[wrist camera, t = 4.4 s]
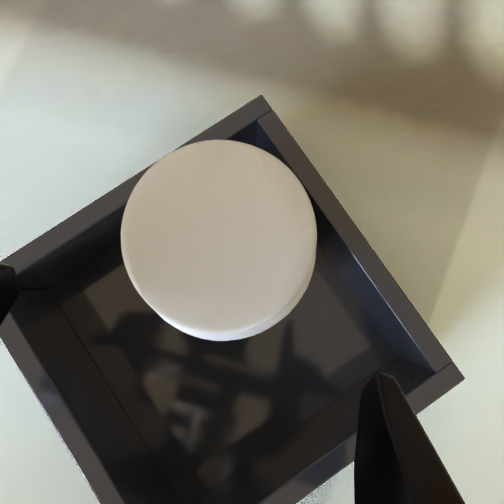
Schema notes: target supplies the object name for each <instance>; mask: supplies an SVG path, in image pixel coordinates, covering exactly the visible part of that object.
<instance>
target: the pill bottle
mask: <svg viewBox="0 0 504 504" xmlns="http://www.w3.org/2000/svg"><path fill="white" fill-rule="evenodd" d="M316 244H317V228H316V220H315V215H314V211H313V208H312V205H311V202H310V199H309V197H308V195H307V193H306V191H305V189H304V188H303V186H302V184H301V183H300V181H299V180H298V178H297V177H296V176H295V175H294V173H293V172H292V171H291V170H290V169H289V168H288V167H287V166H286V165H285V164H284V163H282V162H281V161H280V160H279V159H277V158H276V157H274V156H273V155H271V154H270V153H268V152H266V151H264V150H262V149H260V148H257V147H255V146H252V145H249V144H246V143H242V142H237V141H231V140H207V141H200V142H196V143H192V144H189V145H186V146H183V147H181V148H179V149H177V150H175V151H173V152H171V153H169V154H167V155H166V156H164V157H163V158H161V159H160V160H158V161H157V162H156V163H155V164H153V165H152V166H151V167H150V168H149V169H148V170H147V172H146V173H145V174H144V175H143V176H142V177H141V179H140V180H139V181H138V183H137V184H136V186H135V188H134V189H133V191H132V193H131V195H130V197H129V200H128V202H127V205H126V208H125V211H124V215H123V219H122V225H121V250H122V256H123V260H124V264H125V267H126V270H127V273H128V275H129V277H130V279H131V281H132V283H133V285H134V287H135V289H136V290H137V292H138V293H139V294H140V296H141V297H142V298H143V299H144V300H145V302H146V303H147V304H148V305H149V306H150V307H151V308H152V309H153V310H155V311H156V312H157V313H158V315H159V316H160V317H161V318H162V319H163V320H165V321H166V322H167V323H169V324H171V325H172V326H174V327H175V328H177V329H179V330H180V331H182V332H184V333H187V334H189V335H192V336H195V337H198V338H202V339H206V340H213V341H228V340H237V339H243V338H247V337H250V336H254V335H256V334H259V333H261V332H263V331H265V330H267V329H269V328H270V327H272V326H273V325H275V324H276V323H278V322H279V321H280V320H282V319H283V318H284V317H286V316H287V315H288V314H289V313H290V312H291V311H292V309H293V308H294V307H295V306H296V305H297V303H298V302H299V300H300V299H301V298H302V296H303V294H304V293H305V291H306V289H307V287H308V285H309V282H310V280H311V276H312V273H313V269H314V264H315V257H316Z"/></svg>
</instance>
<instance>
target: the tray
mask: <svg viewBox="0 0 504 504" xmlns="http://www.w3.org/2000/svg"><path fill="white" fill-rule="evenodd" d="M207 140H231V141H237V142H242V143H246V144H249V145H252V146H255V147H257V148H260V149H262V150H264V151H266V152H268V153H270V154H271V155H273V156H274V157H276V158H277V159H279V160H280V161H281V162H282V163H284V164H285V165H286V166H287V167H288V168H289V169H290V170H291V171H292V172H293V173H294V175H295V176H296V177H297V178H298V180H299V181H300V183H301V184H302V186H303V188H304V189H305V191H306V193H307V195H308V197H309V199H310V202H311V205H312V208H313V211H314V215H315V220H316V228H317V244H316V257H315V264H314V269H313V273H312V276H311V280H310V282H309V285H308V287H307V289H306V291H305V293H304V294H303V296H302V298H301V299H300V300H299V302H298V303H297V305H296V306H295V307H294V308H293V309H292V311H291V312H290V313H289V314H288V315H287V316H286V317H284V318H283V319H282V320H280V321H279V322H278V323H276V324H275V325H273V326H272V327H270V328H269V329H267V330H265V331H263V332H261V333H259V334H256V335H254V336H250V337H247V338H243V339H237V340H228V341H213V340H206V339H202V338H198V337H195V336H192V335H189V334H187V333H184V332H182V331H180V330H179V329H177V328H175V327H174V326H172V325H171V324H169V323H167V322H166V321H165V320H163V319H162V318H161V317H160V316H159V315H158V313H157V312H156V311H155V310H153V309H152V308H151V307H150V306H149V305H148V304H147V303H146V302H145V300H144V299H143V298H142V297H141V296H140V294H139V293H138V292H137V290H136V289H135V287H134V285H133V283H132V281H131V279H130V277H129V275H128V273H127V270H126V267H125V264H124V260H123V256H122V250H121V225H122V219H123V215H124V211H125V208H126V205H127V202H128V200H129V197H130V195H131V193H132V191H133V189H134V188H135V186H136V184H137V183H138V181H139V180H140V179H141V177H142V176H143V175H144V174H145V173H146V172H147V170H148V169H149V168H150V167H151V166H152V165H153V164H152V165H150V166H149V167H147V168H146V169H144V170H143V171H141V172H139V173H138V174H136V175H135V176H133V177H132V178H130V179H129V180H127V181H125V182H124V183H122V184H121V185H119V186H118V187H116V188H114V189H113V190H111V191H110V192H108V193H107V194H105V195H104V196H102V197H100V198H99V199H97V200H96V201H94V202H93V203H91V204H89V205H88V206H86V207H85V208H83V209H82V210H80V211H78V212H77V213H75V214H74V215H72V216H71V217H69V218H68V219H66V220H64V221H63V222H61V223H60V224H58V225H57V226H55V227H53V228H52V229H50V230H49V231H47V232H46V233H44V234H43V235H41V236H39V237H38V238H36V239H35V240H33V241H32V242H30V243H28V244H27V245H25V246H24V247H22V248H21V249H19V250H17V251H16V252H14V253H13V254H11V255H10V256H8V257H7V258H5V259H3V260H2V261H0V262H1V263H4V264H8V265H11V266H12V267H13V268H14V269H15V272H16V276H17V280H18V284H19V288H20V293H19V296H18V298H17V300H16V302H15V303H14V305H13V306H12V308H11V310H10V311H9V313H8V314H7V316H6V318H5V319H4V321H3V322H2V324H1V326H0V338H1V339H2V341H3V343H4V344H5V346H6V348H7V349H8V351H9V353H10V354H11V356H12V358H13V359H14V361H15V363H16V364H17V366H18V368H19V369H20V371H21V373H22V374H23V376H24V378H25V379H26V381H27V383H28V384H29V386H30V388H31V389H32V391H33V393H34V394H35V396H36V397H37V399H38V401H39V402H40V404H41V406H42V407H43V409H44V411H45V412H46V414H47V416H48V417H49V419H50V421H51V422H52V424H53V426H54V427H55V429H56V431H57V432H58V434H59V436H60V437H61V439H62V441H63V442H64V444H65V446H66V447H67V449H68V451H69V452H70V454H71V456H72V457H73V459H74V461H75V462H76V464H77V466H78V467H79V469H80V471H81V472H82V474H83V476H84V477H85V479H86V481H87V482H88V484H89V486H90V487H91V489H92V491H93V492H94V494H95V496H96V497H97V499H98V501H99V502H100V504H296V503H297V502H299V501H300V500H301V499H303V498H304V497H305V496H307V495H308V494H310V493H311V492H312V491H314V490H315V489H316V488H318V487H319V486H320V485H322V484H323V483H324V482H326V481H327V480H329V479H330V478H331V477H333V476H334V475H335V474H337V473H338V472H339V471H341V470H342V469H343V468H345V467H346V466H348V465H349V464H350V463H352V462H353V461H354V459H355V446H356V436H357V426H358V415H359V405H360V396H361V393H362V390H363V388H364V387H365V385H366V384H367V383H368V381H369V380H370V378H371V377H372V376H373V374H374V373H376V372H382V373H385V374H388V375H391V376H393V377H394V378H395V379H396V381H397V382H398V384H399V386H400V388H401V390H402V391H403V393H404V395H405V397H406V398H407V400H408V402H409V404H410V406H411V407H412V409H413V411H414V413H415V415H417V414H418V413H419V412H421V411H422V410H424V409H425V408H426V407H428V406H429V405H430V404H432V403H433V402H434V401H436V400H437V399H438V398H440V397H441V396H443V395H444V394H445V393H447V392H448V391H449V390H451V389H452V388H453V387H455V386H456V385H457V384H459V383H460V382H462V381H463V380H464V379H465V378H464V376H463V375H462V373H461V372H460V371H459V369H458V368H457V366H456V365H455V364H454V362H452V359H451V358H450V356H449V355H448V354H447V352H446V351H445V349H444V348H443V347H442V345H441V344H440V342H439V341H438V340H437V338H436V337H435V335H434V334H433V333H432V331H431V330H430V328H429V327H428V326H427V324H426V323H425V321H424V320H423V319H422V317H421V316H420V315H419V313H418V312H417V310H416V309H415V308H414V306H413V305H412V303H411V302H410V301H409V299H408V298H407V296H406V295H405V294H404V292H403V291H402V289H401V288H400V287H399V285H398V284H397V282H396V281H395V280H394V278H393V277H392V275H391V274H390V273H389V271H388V270H387V268H386V267H385V266H384V264H383V263H382V261H381V260H380V259H379V257H378V256H377V254H376V253H375V252H374V250H373V249H372V247H371V246H370V245H369V243H368V242H367V240H366V239H365V238H364V236H363V235H362V233H361V232H360V231H359V229H358V228H357V226H356V225H355V224H354V222H353V221H352V219H351V218H350V217H349V215H348V214H347V212H346V211H345V210H344V208H343V207H342V205H341V204H340V203H339V201H338V200H337V199H336V197H335V196H334V194H333V193H332V192H331V190H330V189H329V187H328V186H327V185H326V183H325V182H324V180H323V179H322V178H321V176H320V175H319V173H318V172H317V171H316V169H315V168H314V166H313V165H312V164H311V162H310V161H309V159H308V158H307V157H306V155H305V154H304V152H303V151H302V150H301V148H300V147H299V145H298V144H297V143H296V141H295V140H294V138H293V137H292V136H291V134H290V133H289V131H288V130H287V129H286V127H285V126H284V124H283V123H282V122H281V120H280V119H279V117H278V116H277V115H276V113H275V112H274V111H273V110H272V108H271V107H270V105H269V104H268V103H267V101H266V100H265V98H264V97H263V96H262V95H260V96H258V97H257V98H255V99H254V100H252V101H250V102H249V103H247V104H246V105H244V106H243V107H241V108H240V109H238V110H236V111H235V112H233V113H232V114H230V115H229V116H227V117H225V118H224V119H222V120H221V121H219V122H218V123H216V124H215V125H213V126H211V127H210V128H208V129H207V130H205V131H204V132H202V133H200V134H199V135H197V136H196V137H194V138H193V139H191V140H190V141H188V142H186V143H185V144H183V145H182V146H180V147H179V148H181V147H183V146H186V145H189V144H192V143H196V142H200V141H207ZM179 148H177V149H179ZM177 149H175V150H177ZM175 150H174V151H175ZM172 152H173V151H172ZM155 163H156V162H155ZM155 163H154V164H155Z"/></svg>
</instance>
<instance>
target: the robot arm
mask: <svg viewBox="0 0 504 504" xmlns="http://www.w3.org/2000/svg"><path fill="white" fill-rule="evenodd" d="M19 293H20V288H19V284H18V280H17V276H16V272H15V269H14V268H13V267H12V266H11V265H8V264H4V263H1V262H0V326H1V324H2V322H3V321H4V319H5V318H6V316H7V314H8V313H9V311H10V310H11V308H12V306H13V305H14V303H15V302H16V300H17V298H18V296H19ZM354 491H355V504H465V502H464V500H463V499H462V497H461V495H460V493H459V491H458V490H457V488H456V486H455V484H454V482H453V481H452V479H451V477H450V475H449V474H448V472H447V470H446V468H445V466H444V465H443V463H442V461H441V459H440V457H439V456H438V454H437V452H436V450H435V449H434V447H433V445H432V443H431V441H430V440H429V438H428V436H427V434H426V432H425V431H424V429H423V427H422V425H421V424H420V422H419V420H418V418H417V416H416V415H415V413H414V411H413V409H412V407H411V406H410V404H409V402H408V400H407V398H406V397H405V395H404V393H403V391H402V390H401V388H400V386H399V384H398V382H397V381H396V379H395V378H394V377H393V376H391V375H388V374H385V373H382V372H376V373H374V374H373V376H372V377H371V378H370V380H369V381H368V383H367V384H366V385H365V387H364V388H363V390H362V393H361V396H360V405H359V415H358V426H357V436H356V446H355V459H354Z"/></svg>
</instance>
